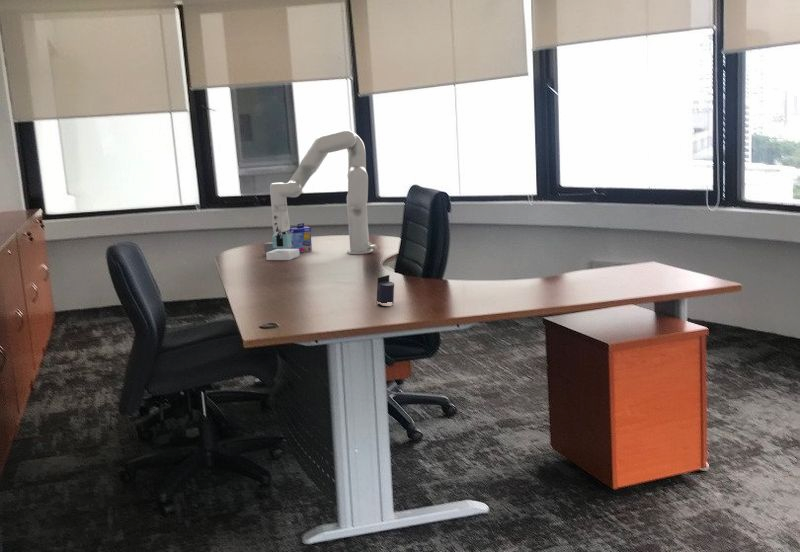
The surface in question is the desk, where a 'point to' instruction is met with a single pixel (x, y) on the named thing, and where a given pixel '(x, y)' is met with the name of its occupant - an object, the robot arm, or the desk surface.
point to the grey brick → (269, 247)
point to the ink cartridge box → (301, 238)
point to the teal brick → (286, 241)
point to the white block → (282, 254)
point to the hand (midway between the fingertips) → (282, 245)
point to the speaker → (385, 290)
